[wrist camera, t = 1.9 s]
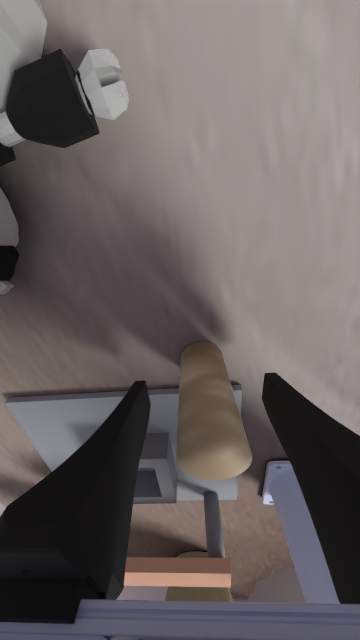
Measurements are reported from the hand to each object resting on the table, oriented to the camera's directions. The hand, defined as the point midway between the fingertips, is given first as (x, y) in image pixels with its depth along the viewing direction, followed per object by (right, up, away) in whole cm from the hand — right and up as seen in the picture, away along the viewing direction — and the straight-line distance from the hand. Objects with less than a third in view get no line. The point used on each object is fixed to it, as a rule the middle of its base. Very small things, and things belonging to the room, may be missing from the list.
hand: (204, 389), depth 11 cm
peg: (0, +1, +3) cm, 3 cm away
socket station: (-6, -9, +8) cm, 13 cm away
